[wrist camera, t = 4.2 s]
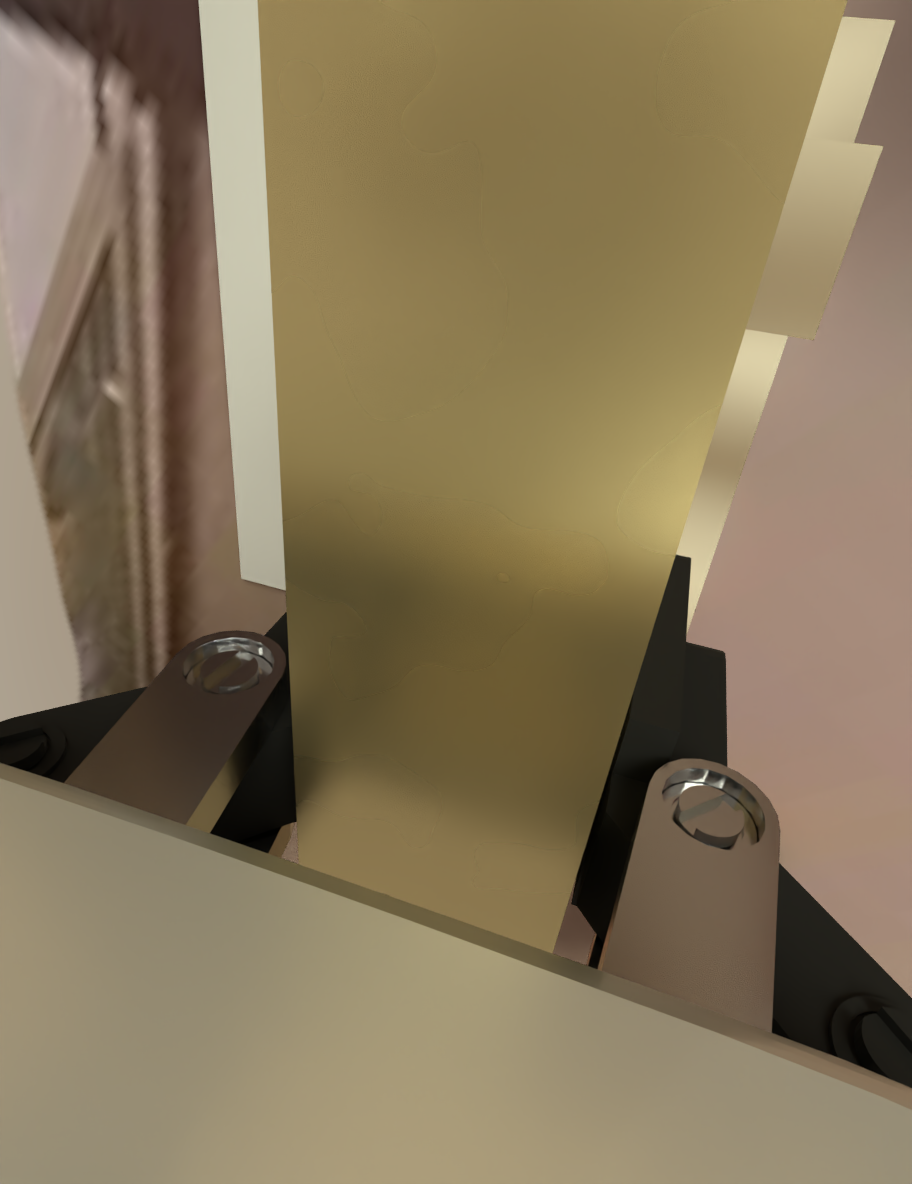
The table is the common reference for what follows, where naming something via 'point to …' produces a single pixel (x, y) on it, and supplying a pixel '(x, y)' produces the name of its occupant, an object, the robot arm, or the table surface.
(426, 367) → the rail
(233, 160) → the mat
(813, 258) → the rack
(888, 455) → the table surface
